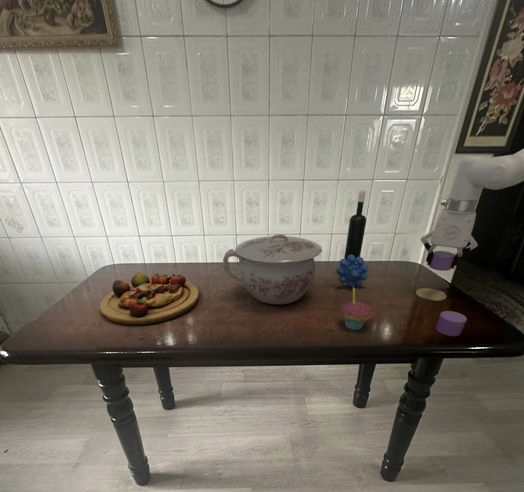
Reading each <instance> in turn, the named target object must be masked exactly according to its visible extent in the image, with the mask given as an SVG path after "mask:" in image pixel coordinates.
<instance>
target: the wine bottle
mask: <svg viewBox="0 0 524 492" xmlns="http://www.w3.org/2000/svg"><path fill="white" fill-rule="evenodd" d="M366 191H367V190H365V189H363V190H362V189H361V190H359V192H358V197H357V207H356V212H355V214H353V215H352V216H350V218H349V223H348V229H347V236H346V244H345V251H344V258H343V259H346V260H347V257H348V256H349V255H354V256H355V258H357V257H361V253H362V249H363V248H362V247H363V242H364V236H365V230H366V225H367V217H366V216H365V215H364V214H363V210H364V203H365V200H366V193H367V192H366Z"/></svg>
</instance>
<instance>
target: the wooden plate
mask: <svg viewBox="0 0 524 492" xmlns="http://www.w3.org/2000/svg"><path fill="white" fill-rule="evenodd" d="M111 287H112V291H111V292H109V293H108V294H106V295H105V296H104V297H103V298H102V300H101V301H100V302H99V305H98V307H99V308H98V309H99V313H100V314H101V316H102V317H103V318H105V319H106V320H108V321H110V322H114V323H116V324H122V325H147V324H148V325H149V324H155V323H160V322H164V321H167V320H171V319H175V318H176V317H179V316H181V315H183V314H185V313H187V312H189V311H190V310H191V309H193V308H194V307H195V306H196V305H197V304H198V302H199V299H200V297H201V295H200V290H199V289H198V287H197V286H196V285H194V284H192V283H191V282H188V281H187V278H186V277H185V276H184V275H182V274H181V273H180V274H179V275H176V274H174V273H172V274H171V276H168V274H164V275H160V274H159V272H157V273H154V274H152V276H151V278H150V277H149V276H148V275H147V274H145V273H143V272H140V271H139V272H137V273H135V274H134V275H133V276H132V278H131V280H130V283H128V282H127V281H126V280H124V279H121V278H117V279H116V280H114V281H113V283H112V285H111Z"/></svg>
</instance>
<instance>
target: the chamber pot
mask: <svg viewBox="0 0 524 492" xmlns="http://www.w3.org/2000/svg"><path fill="white" fill-rule="evenodd" d="M322 252H323V249H322V246H321V245H320V244H319V243H317V242H316V241H313V240H311V239H306V238H303V237H297V236H291V235H285V234H282V233H281V234H280V233H277V234H274V235H266V236H258V237H254V238H250V239H247V240H244V241H242V242H240V243H238V244H237V245H236V247H235V248H234V249H233V248H230V249H228V250H227V251H226V252H225V253H224V256H223V258H222V267H223V269H224V271H225V272H226V274H228V275H229V277H230V278H232V279H234V280H235V281H237V282H238V283H239V284H241V285H242V286H243V287H244V289H246V290H247V291H248V292H249V294H250V295H251V296H252V297H253V298H254V299H255V300H257V301H258V302H261V303H264V304H268V305H288V304H292V303H295V302H297V301H299V300H301V298H303V297H304V295H305V294H306V293H307V291H308V290H309V288H310V287H311V286H312V284H313V283H314V279H315V275H316V268H317V265H316V260H315V258H316V257H318V256H319V255H320V254H322ZM232 257H235V258H238V265H239V267H240V273H241V276H240V275H237V274H236V273H235V272H234V271H232V270H231V268H230V266H229V258H232Z"/></svg>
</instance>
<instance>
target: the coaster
mask: <svg viewBox="0 0 524 492" xmlns="http://www.w3.org/2000/svg"><path fill="white" fill-rule="evenodd" d="M415 294H416V296H418V297H419V298H420V299H423V300H427V301H433V302H441V301H444V300H446V299H447V297H448V296H447V294H446V293H445V292H443V291H441V290H439V289H435V288H429V287H427V288H426V287H423V288H418V289H416V290H415Z"/></svg>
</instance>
